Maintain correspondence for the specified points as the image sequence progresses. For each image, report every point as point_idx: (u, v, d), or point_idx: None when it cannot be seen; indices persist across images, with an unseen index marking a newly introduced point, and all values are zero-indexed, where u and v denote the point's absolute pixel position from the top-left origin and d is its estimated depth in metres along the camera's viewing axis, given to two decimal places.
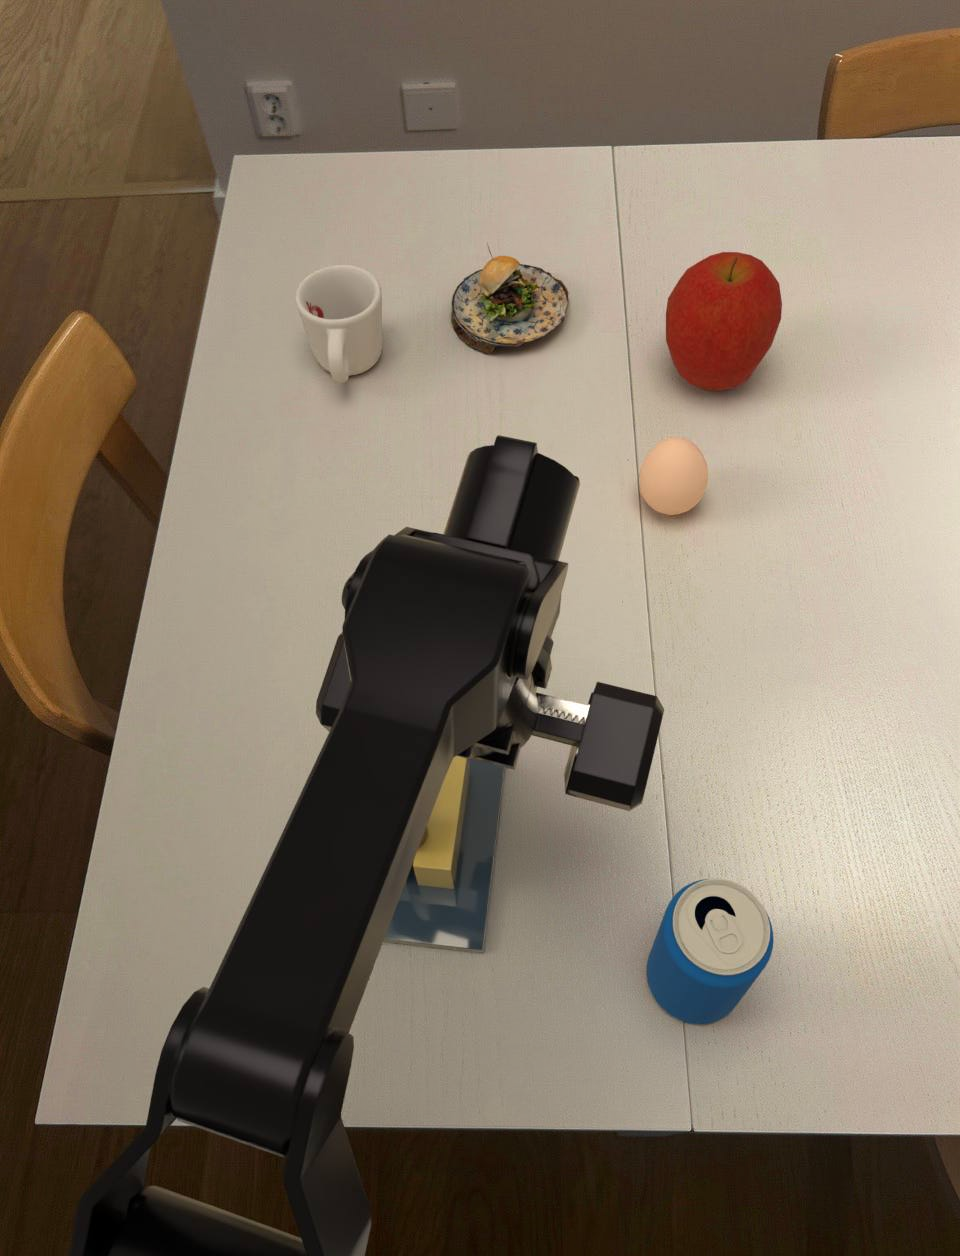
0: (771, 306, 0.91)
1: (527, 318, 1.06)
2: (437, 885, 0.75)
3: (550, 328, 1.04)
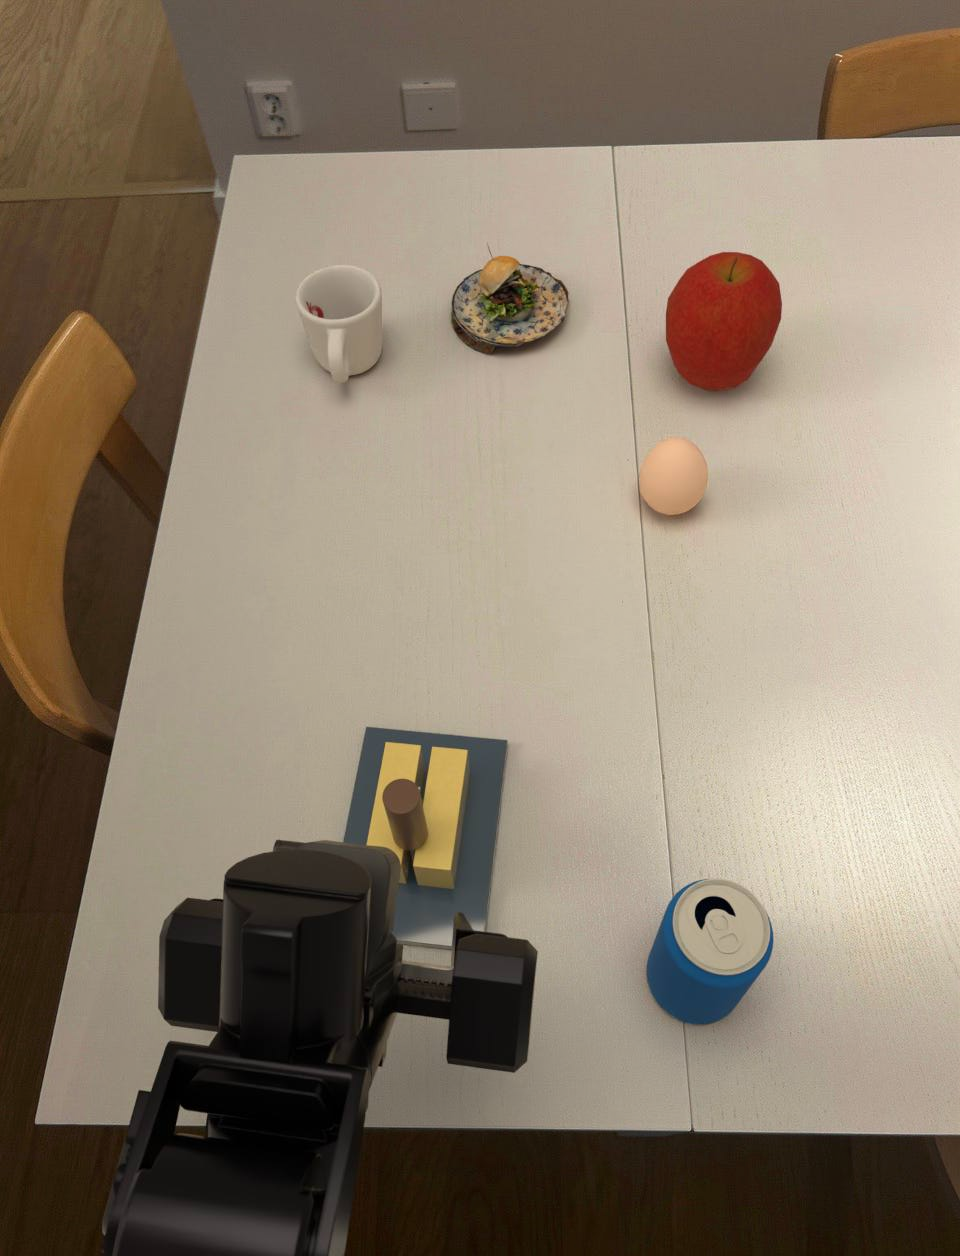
0: (771, 306, 0.91)
1: (527, 318, 1.06)
2: (437, 885, 0.75)
3: (550, 328, 1.04)
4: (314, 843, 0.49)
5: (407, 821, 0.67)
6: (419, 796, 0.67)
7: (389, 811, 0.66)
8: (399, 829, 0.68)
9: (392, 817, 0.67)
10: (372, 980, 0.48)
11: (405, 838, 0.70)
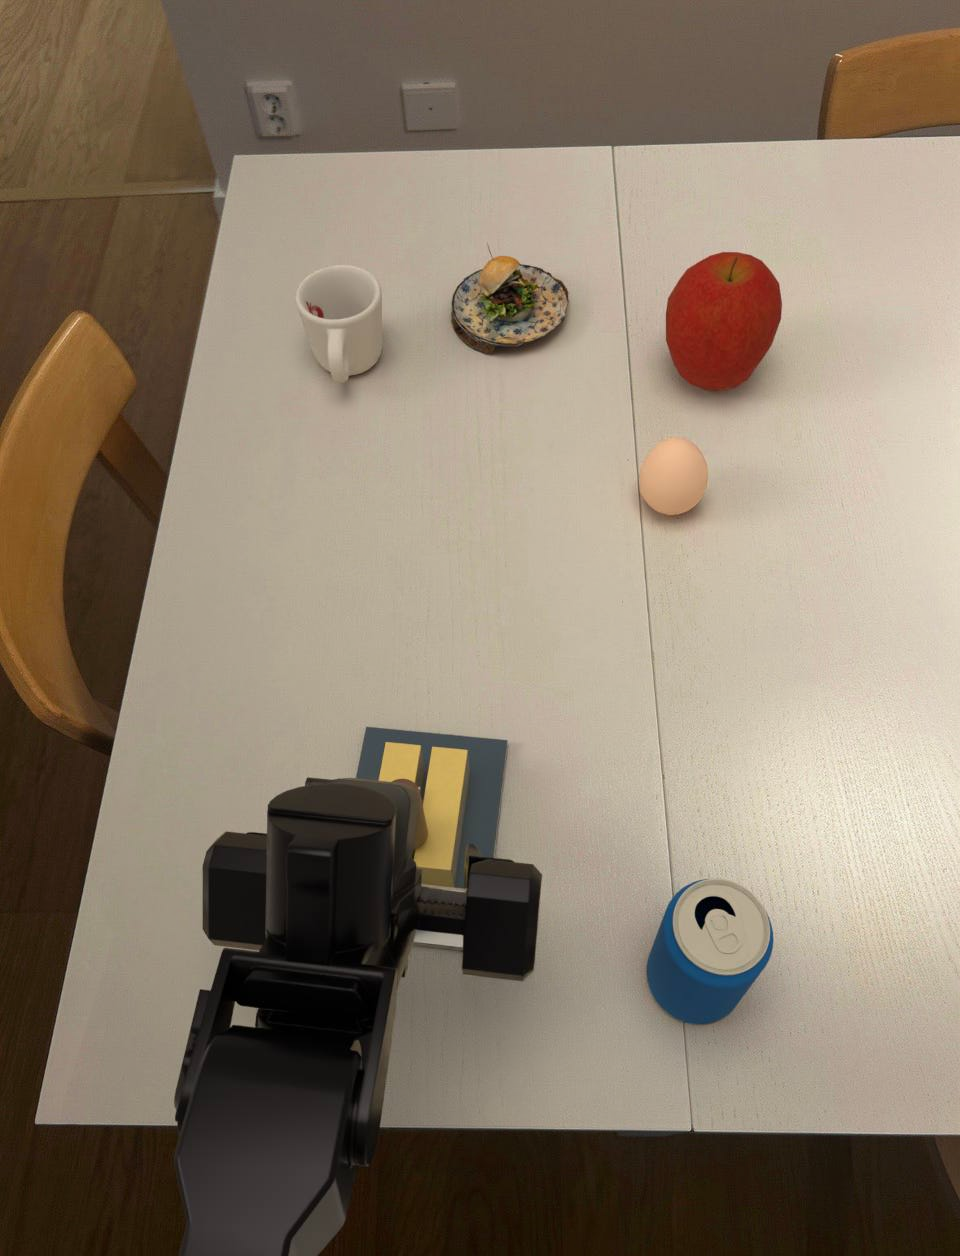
0: (771, 306, 0.91)
1: (527, 318, 1.06)
2: (437, 885, 0.75)
3: (550, 328, 1.04)
4: (341, 779, 0.55)
5: None
6: (419, 796, 0.67)
7: None
8: None
9: None
10: (396, 899, 0.54)
11: None
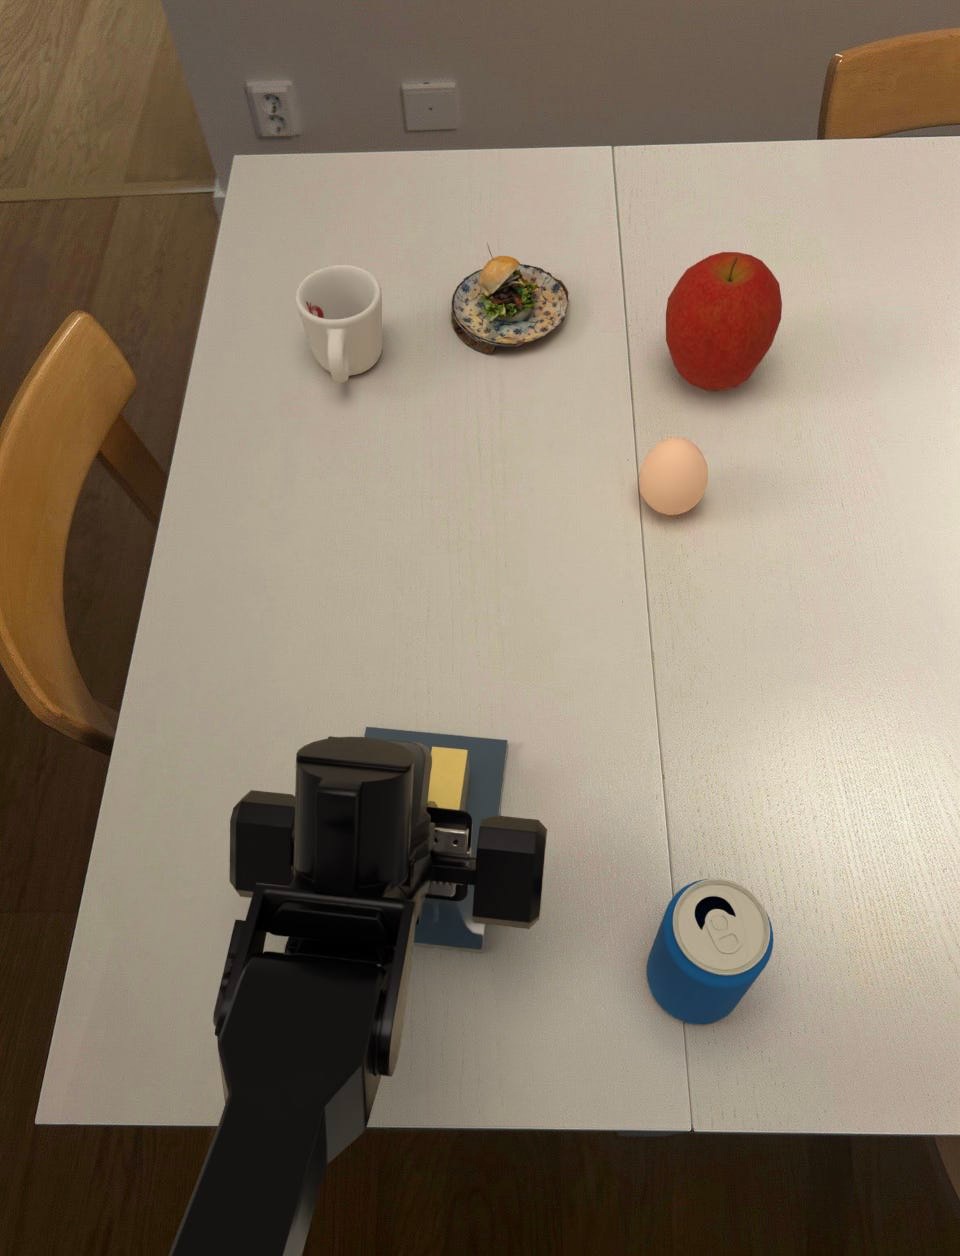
0: (771, 306, 0.91)
1: (527, 318, 1.06)
2: None
3: (550, 328, 1.04)
4: None
5: None
6: None
7: None
8: None
9: None
10: (412, 847, 0.58)
11: None
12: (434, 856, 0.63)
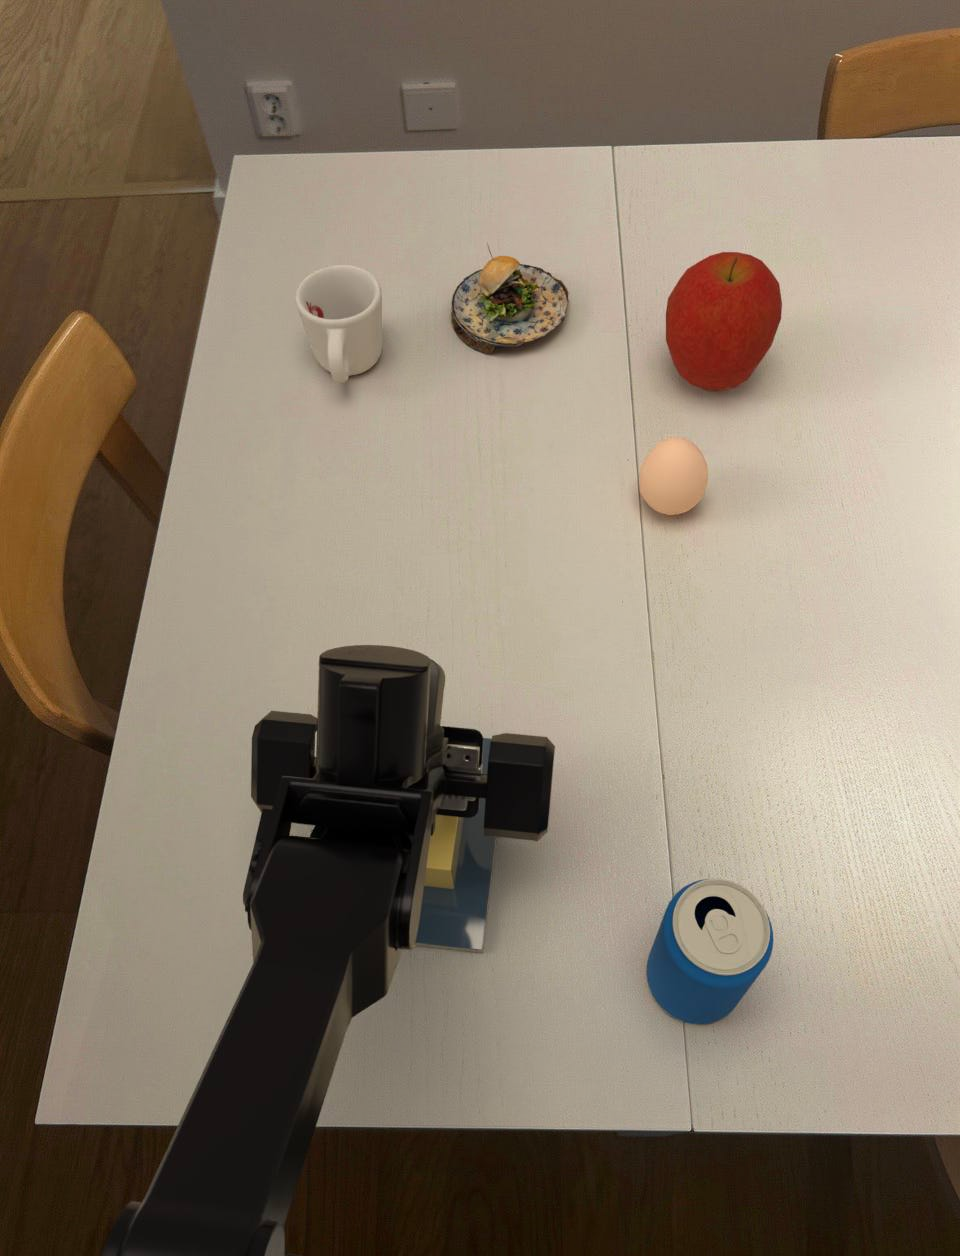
0: (771, 306, 0.91)
1: (527, 318, 1.06)
2: (437, 885, 0.75)
3: (550, 328, 1.04)
4: None
5: None
6: None
7: None
8: None
9: None
10: (427, 756, 0.61)
11: None
12: (447, 772, 0.66)
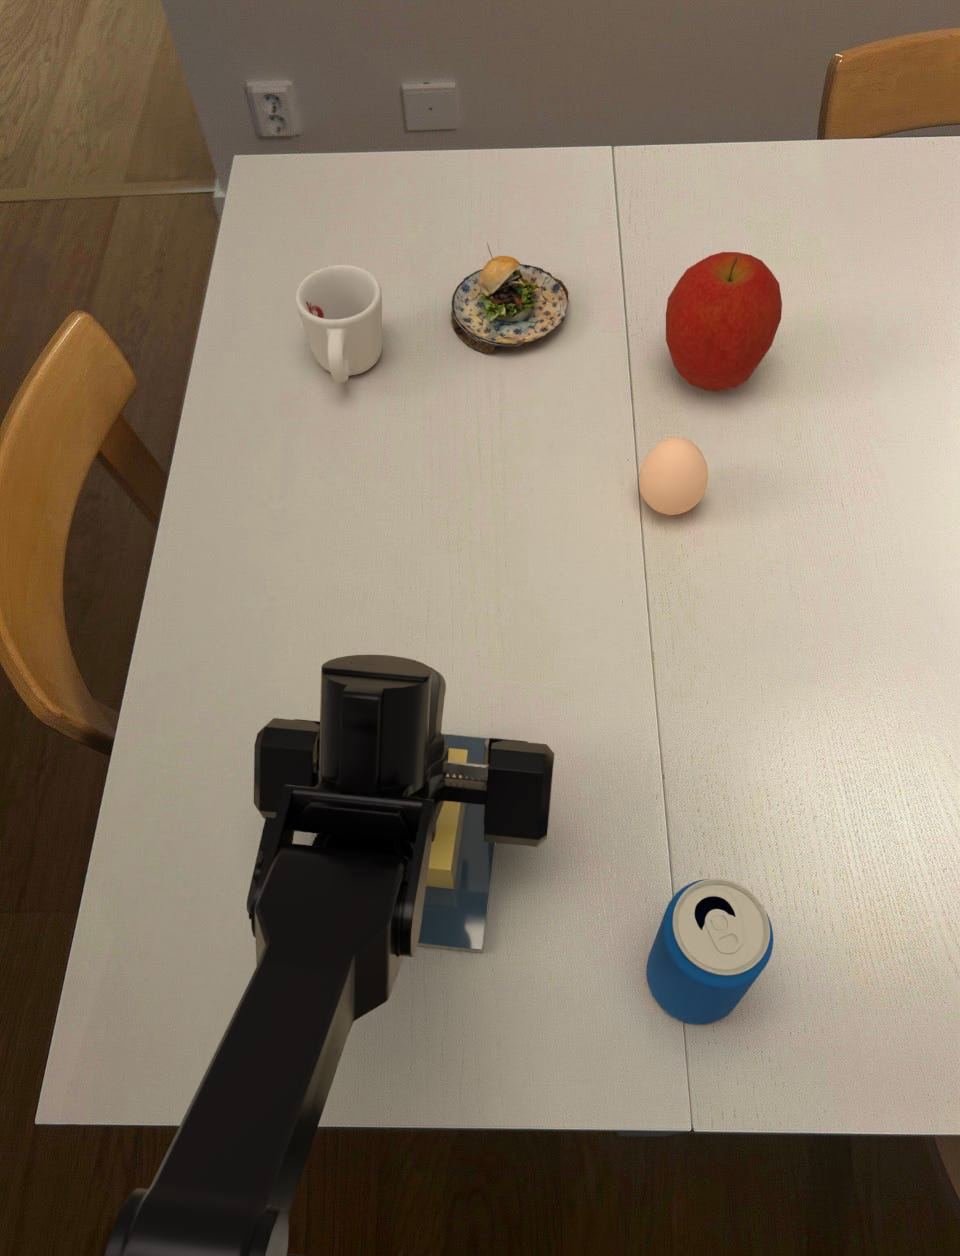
0: (771, 306, 0.91)
1: (527, 318, 1.06)
2: (437, 885, 0.75)
3: (550, 328, 1.04)
4: None
5: None
6: None
7: None
8: None
9: None
10: (427, 764, 0.62)
11: None
12: None
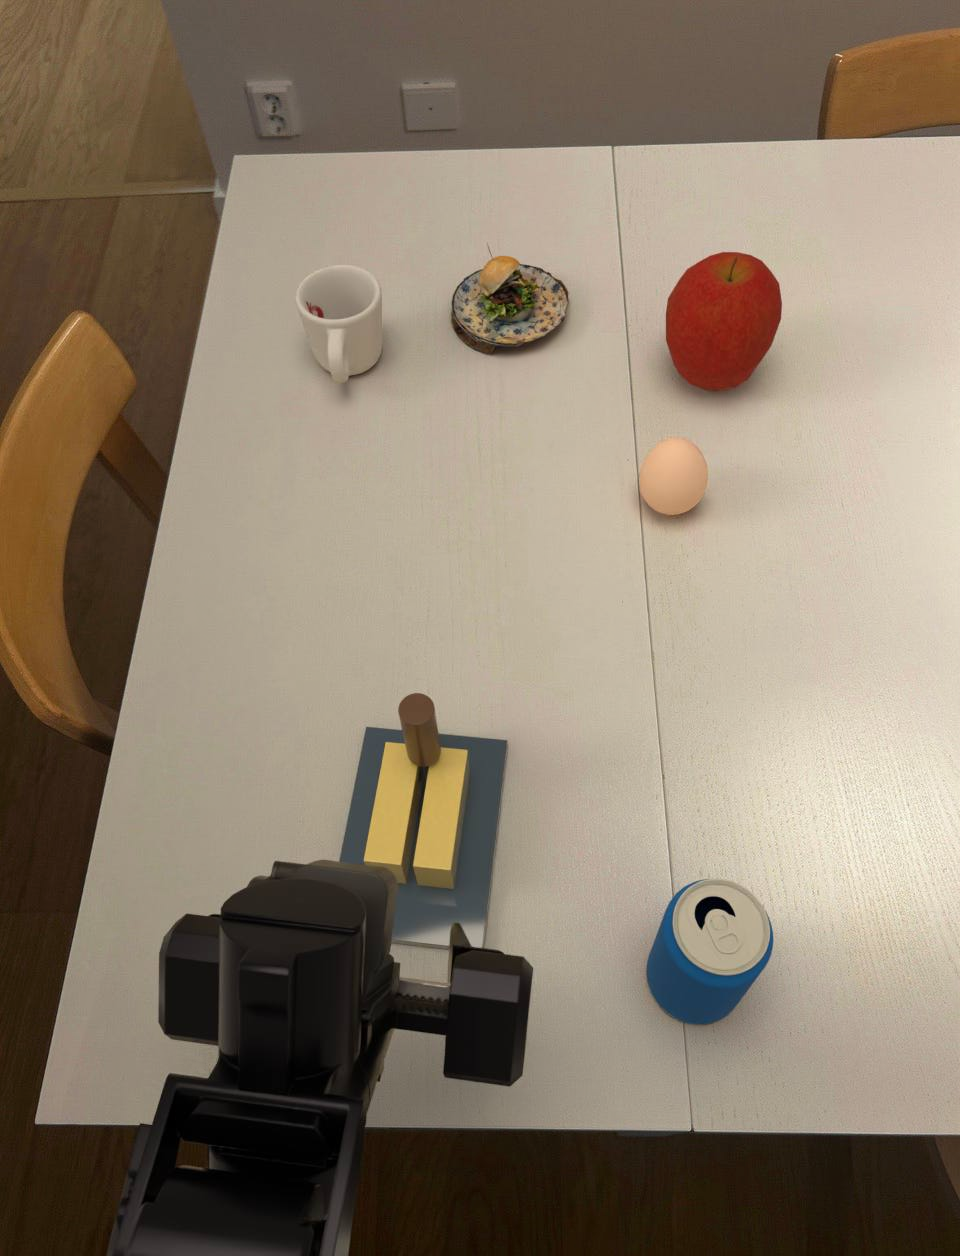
0: (771, 306, 0.91)
1: (527, 318, 1.06)
2: (437, 885, 0.75)
3: (550, 328, 1.04)
4: (312, 866, 0.49)
5: (422, 734, 0.71)
6: (433, 709, 0.70)
7: (405, 723, 0.70)
8: (413, 742, 0.72)
9: (407, 729, 0.70)
10: (370, 1001, 0.48)
11: (419, 753, 0.73)
12: None
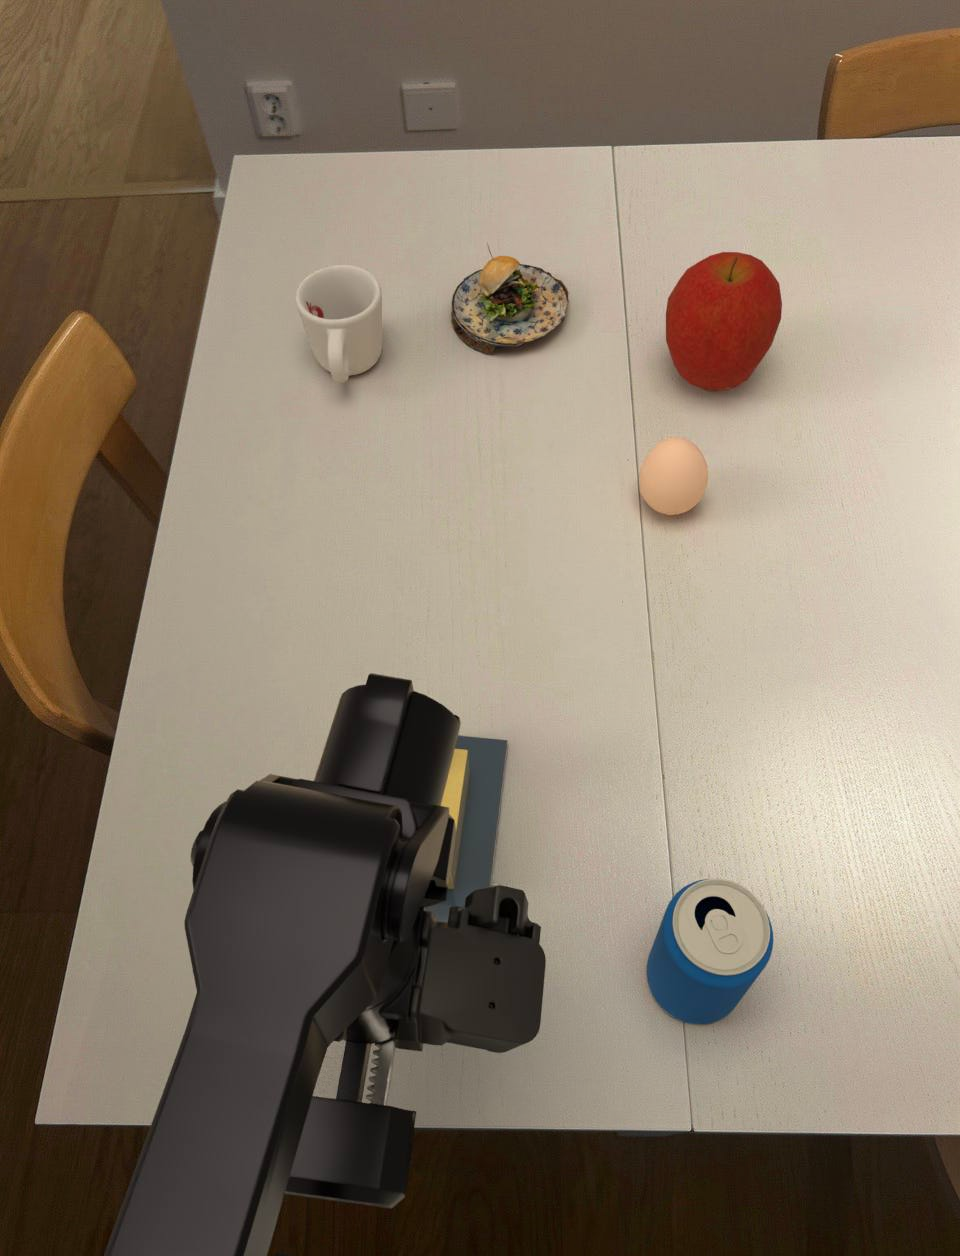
0: (771, 306, 0.91)
1: (527, 318, 1.06)
2: None
3: (550, 328, 1.04)
4: (544, 965, 0.50)
5: None
6: None
7: None
8: None
9: None
10: (418, 1018, 0.47)
11: None
12: None
